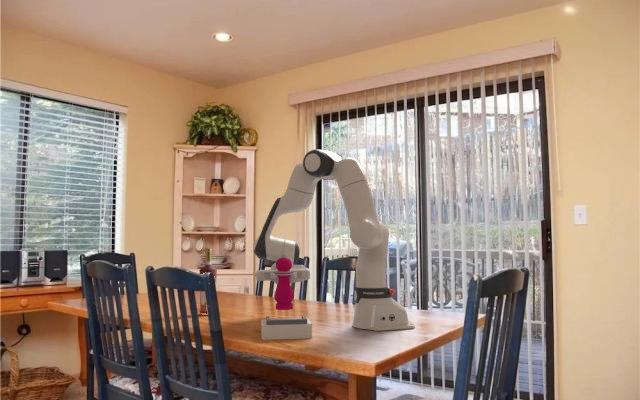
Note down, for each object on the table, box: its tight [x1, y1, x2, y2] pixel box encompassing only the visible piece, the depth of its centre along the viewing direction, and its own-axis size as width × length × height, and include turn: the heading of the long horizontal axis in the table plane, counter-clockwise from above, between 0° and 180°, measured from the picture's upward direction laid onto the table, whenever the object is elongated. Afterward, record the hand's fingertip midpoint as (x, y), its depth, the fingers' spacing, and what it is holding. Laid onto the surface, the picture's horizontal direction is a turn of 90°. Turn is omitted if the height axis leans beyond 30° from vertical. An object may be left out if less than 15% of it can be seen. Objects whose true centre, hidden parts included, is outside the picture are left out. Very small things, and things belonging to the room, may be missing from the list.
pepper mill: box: [273, 253, 295, 311], centre depth 173 cm, size 7×7×20 cm
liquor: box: [198, 248, 218, 314], centre depth 203 cm, size 7×7×28 cm
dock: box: [260, 314, 313, 341], centre depth 159 cm, size 16×14×6 cm
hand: (284, 276), depth 172 cm, fingers closed on pepper mill, 5 cm apart
